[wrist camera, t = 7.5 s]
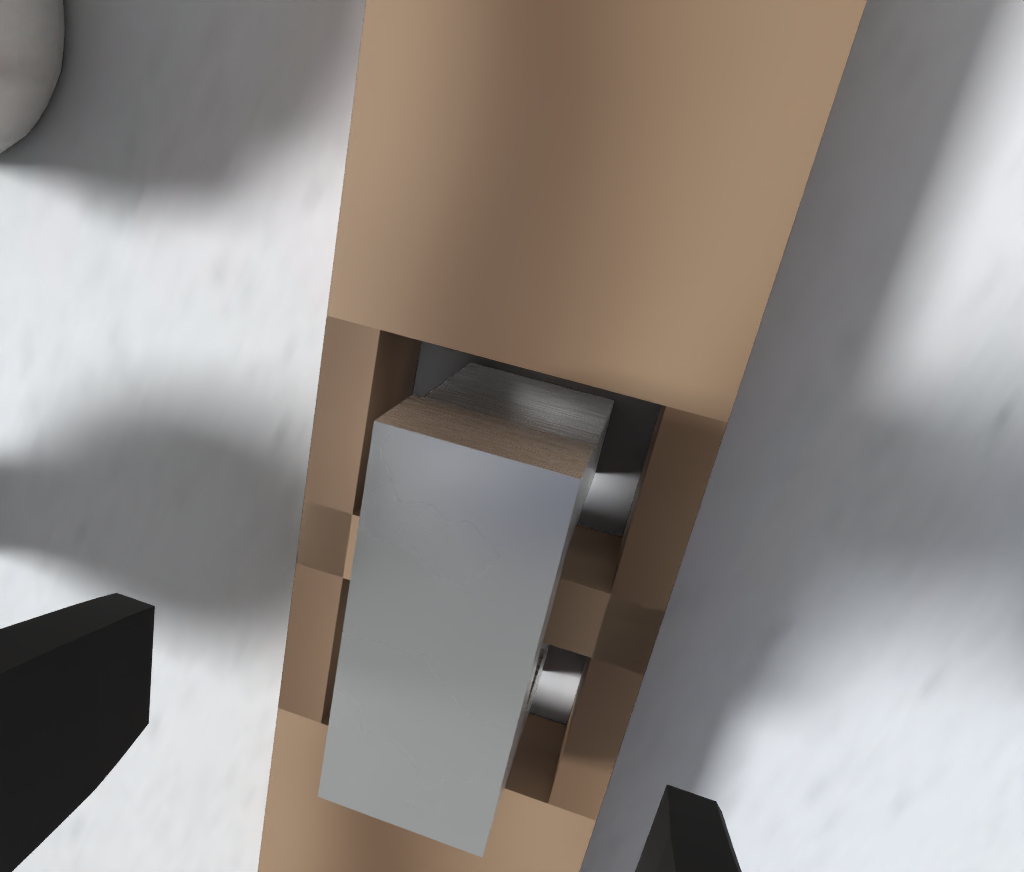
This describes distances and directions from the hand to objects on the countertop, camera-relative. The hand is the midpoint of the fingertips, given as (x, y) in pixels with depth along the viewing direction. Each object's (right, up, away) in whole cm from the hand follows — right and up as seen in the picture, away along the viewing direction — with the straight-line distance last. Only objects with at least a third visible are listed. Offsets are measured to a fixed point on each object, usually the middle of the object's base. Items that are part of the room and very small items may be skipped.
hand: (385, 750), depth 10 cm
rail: (+1, +2, +6) cm, 7 cm away
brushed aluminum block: (+2, +2, +6) cm, 7 cm away
